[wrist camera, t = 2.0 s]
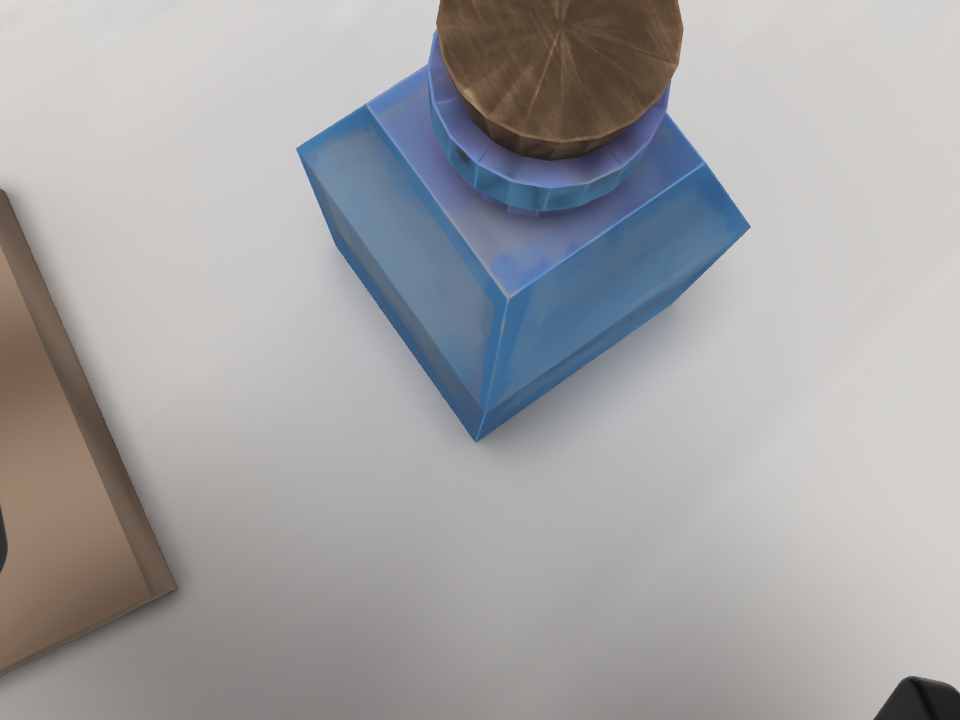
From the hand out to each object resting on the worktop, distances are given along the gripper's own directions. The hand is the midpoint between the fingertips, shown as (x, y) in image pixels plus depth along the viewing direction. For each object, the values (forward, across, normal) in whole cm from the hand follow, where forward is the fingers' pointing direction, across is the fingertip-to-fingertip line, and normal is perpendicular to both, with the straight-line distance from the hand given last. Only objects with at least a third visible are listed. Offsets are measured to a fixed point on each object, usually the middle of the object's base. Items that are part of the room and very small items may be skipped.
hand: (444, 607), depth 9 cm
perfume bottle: (+15, 0, +5) cm, 15 cm away
